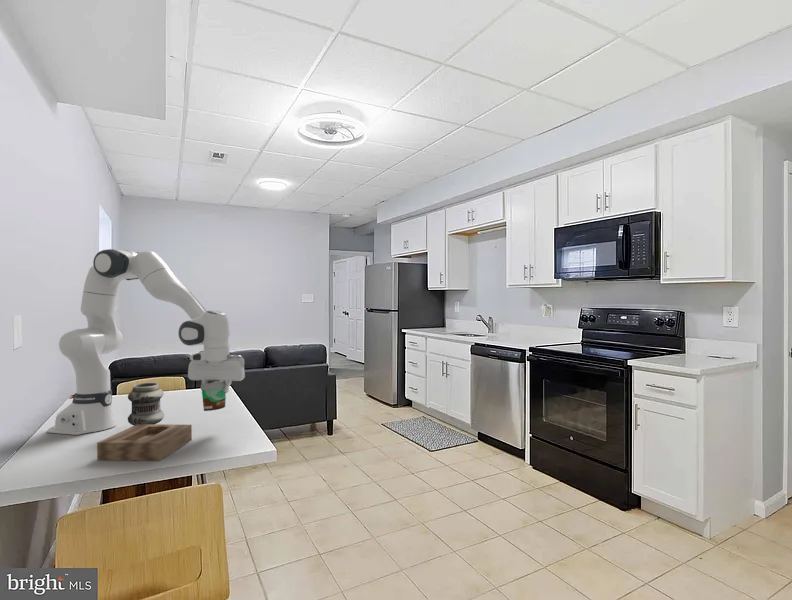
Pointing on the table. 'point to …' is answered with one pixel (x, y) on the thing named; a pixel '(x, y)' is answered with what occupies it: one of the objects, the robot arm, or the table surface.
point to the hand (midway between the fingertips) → (216, 392)
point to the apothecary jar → (145, 404)
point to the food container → (213, 395)
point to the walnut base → (144, 442)
